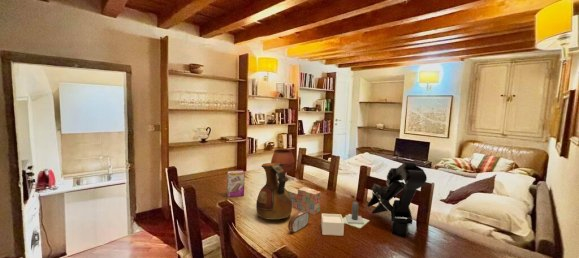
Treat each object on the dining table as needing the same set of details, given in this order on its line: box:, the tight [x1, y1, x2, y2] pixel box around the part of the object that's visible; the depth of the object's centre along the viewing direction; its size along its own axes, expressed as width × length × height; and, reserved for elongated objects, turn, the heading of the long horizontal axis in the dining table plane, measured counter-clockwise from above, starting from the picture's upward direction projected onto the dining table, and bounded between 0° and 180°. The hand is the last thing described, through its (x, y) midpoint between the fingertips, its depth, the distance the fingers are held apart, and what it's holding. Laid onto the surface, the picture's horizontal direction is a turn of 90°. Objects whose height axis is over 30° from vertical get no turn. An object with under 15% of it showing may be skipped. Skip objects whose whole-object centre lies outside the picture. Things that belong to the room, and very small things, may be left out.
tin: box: [287, 210, 310, 233], centre depth 128 cm, size 15×3×8 cm, turn 141°
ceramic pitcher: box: [255, 162, 293, 220], centre depth 141 cm, size 20×20×30 cm
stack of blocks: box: [286, 186, 322, 216], centre depth 154 cm, size 21×6×12 cm, turn 50°
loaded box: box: [320, 213, 345, 237], centre depth 128 cm, size 10×10×6 cm
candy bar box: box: [226, 170, 246, 198], centre depth 172 cm, size 11×5×16 cm, turn 108°
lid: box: [345, 201, 364, 225], centre depth 138 cm, size 8×8×10 cm
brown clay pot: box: [270, 148, 296, 182], centre depth 210 cm, size 19×19×25 cm
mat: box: [342, 213, 370, 229], centre depth 139 cm, size 12×12×1 cm
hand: (370, 209), depth 138 cm, fingers open, 9 cm apart
